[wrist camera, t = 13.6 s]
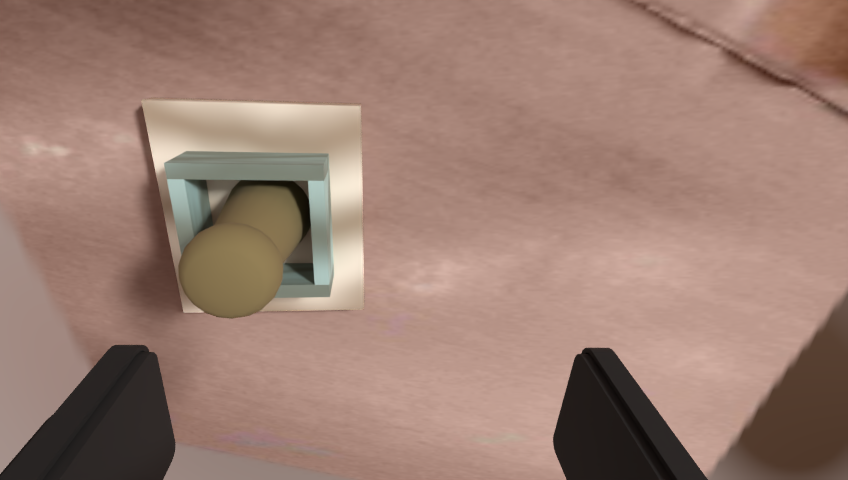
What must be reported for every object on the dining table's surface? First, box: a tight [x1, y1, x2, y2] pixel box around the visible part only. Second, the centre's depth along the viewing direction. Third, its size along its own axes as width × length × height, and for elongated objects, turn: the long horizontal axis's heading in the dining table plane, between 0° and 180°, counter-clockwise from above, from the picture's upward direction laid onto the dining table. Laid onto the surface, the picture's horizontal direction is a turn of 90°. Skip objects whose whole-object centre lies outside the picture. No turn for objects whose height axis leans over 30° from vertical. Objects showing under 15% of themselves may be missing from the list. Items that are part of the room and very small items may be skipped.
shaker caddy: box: [141, 98, 364, 313], centre depth 32 cm, size 16×14×5 cm
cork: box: [178, 180, 311, 318], centre depth 28 cm, size 6×6×11 cm
